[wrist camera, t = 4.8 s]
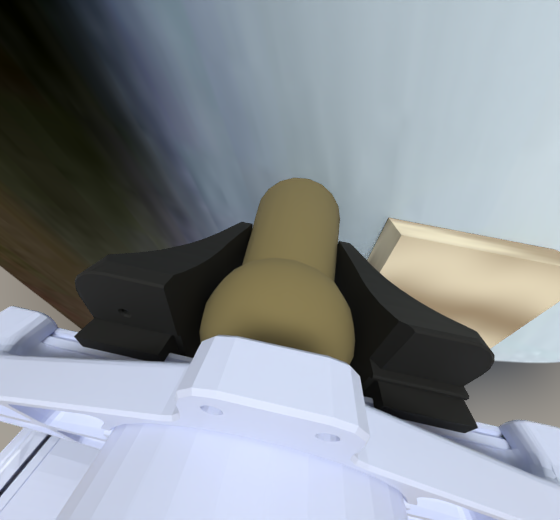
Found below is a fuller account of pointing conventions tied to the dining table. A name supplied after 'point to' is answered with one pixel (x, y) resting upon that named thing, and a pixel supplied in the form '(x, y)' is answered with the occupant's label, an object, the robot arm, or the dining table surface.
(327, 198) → the cork
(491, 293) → the birch riser block
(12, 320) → the robot arm
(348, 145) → the dining table surface
